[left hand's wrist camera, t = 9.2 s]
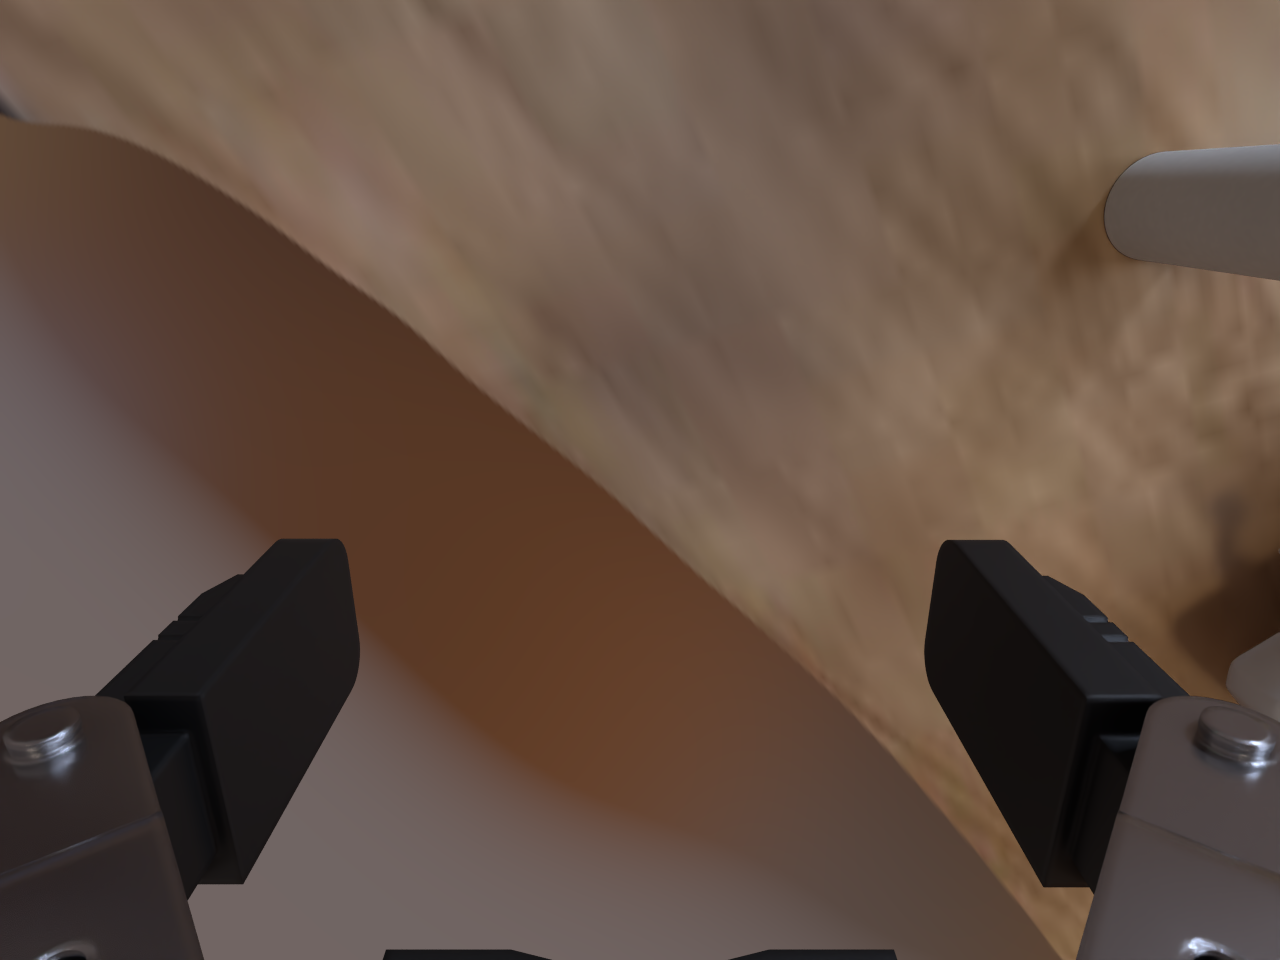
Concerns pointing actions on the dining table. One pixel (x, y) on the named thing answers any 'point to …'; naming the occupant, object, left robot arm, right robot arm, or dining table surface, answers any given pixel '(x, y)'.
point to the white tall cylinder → (1201, 210)
